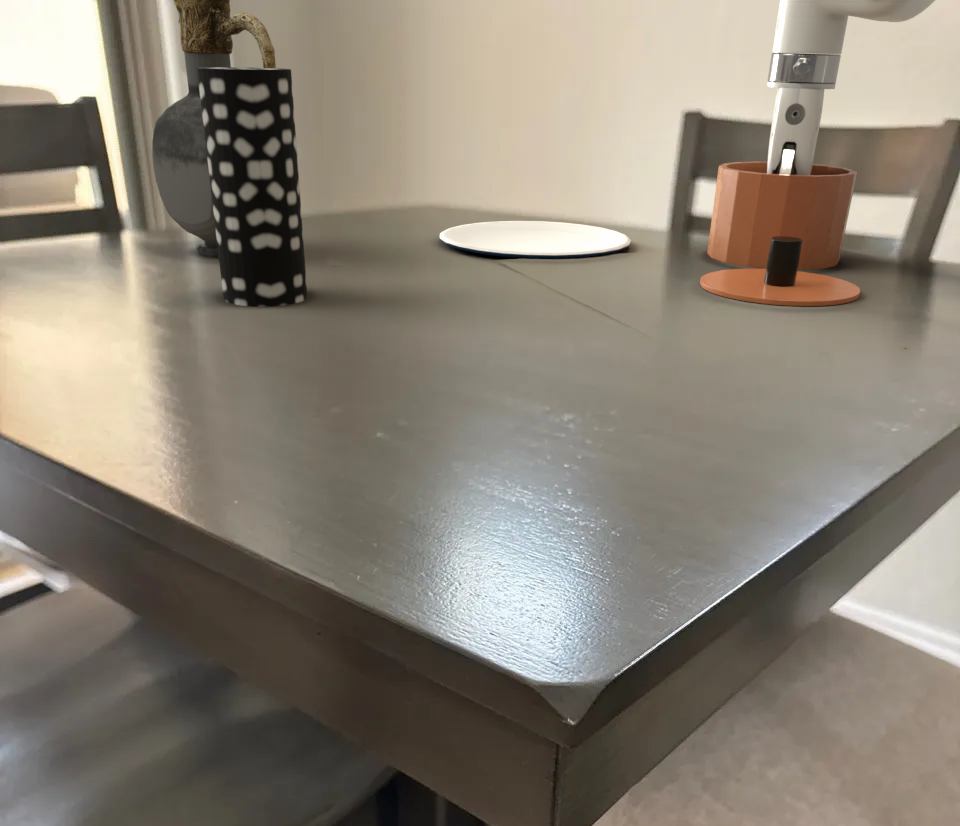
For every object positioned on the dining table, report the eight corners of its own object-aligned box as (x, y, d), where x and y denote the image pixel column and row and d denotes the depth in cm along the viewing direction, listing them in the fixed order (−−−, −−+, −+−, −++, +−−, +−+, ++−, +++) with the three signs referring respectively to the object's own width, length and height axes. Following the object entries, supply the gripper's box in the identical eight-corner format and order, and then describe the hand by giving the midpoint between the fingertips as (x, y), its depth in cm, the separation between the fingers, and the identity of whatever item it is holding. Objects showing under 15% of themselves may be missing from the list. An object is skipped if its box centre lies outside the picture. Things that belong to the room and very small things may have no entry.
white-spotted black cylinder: (323, 294, 100) (308, 69, 89) (276, 311, 93) (254, 70, 83) (256, 286, 103) (234, 66, 92) (206, 301, 96) (176, 67, 86)
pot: (785, 248, 129) (800, 160, 124) (864, 270, 117) (885, 174, 111) (684, 253, 124) (695, 162, 119) (755, 277, 112) (771, 177, 106)
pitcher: (226, 239, 126) (195, -42, 110) (323, 260, 116) (305, -48, 100) (152, 250, 119) (109, -49, 103) (249, 273, 109) (217, -57, 93)
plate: (525, 272, 112) (525, 260, 111) (401, 240, 128) (401, 230, 128) (671, 250, 126) (672, 240, 125) (541, 224, 142) (542, 215, 141)
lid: (793, 275, 114) (803, 223, 111) (892, 306, 100) (906, 248, 98) (670, 283, 108) (676, 229, 105) (757, 317, 95) (767, 256, 92)
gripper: (838, 75, 102) (804, 257, 111) (836, 73, 116) (806, 233, 126) (765, 73, 104) (737, 252, 113) (772, 71, 118) (747, 229, 127)
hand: (774, 240), depth 119 cm, fingers open, 6 cm apart
